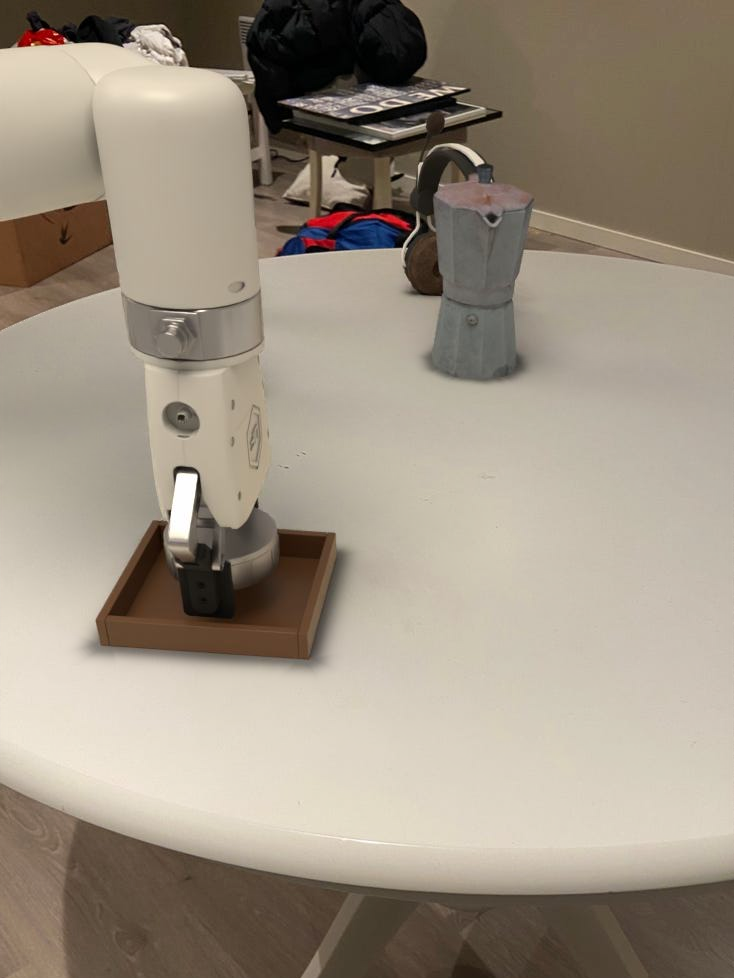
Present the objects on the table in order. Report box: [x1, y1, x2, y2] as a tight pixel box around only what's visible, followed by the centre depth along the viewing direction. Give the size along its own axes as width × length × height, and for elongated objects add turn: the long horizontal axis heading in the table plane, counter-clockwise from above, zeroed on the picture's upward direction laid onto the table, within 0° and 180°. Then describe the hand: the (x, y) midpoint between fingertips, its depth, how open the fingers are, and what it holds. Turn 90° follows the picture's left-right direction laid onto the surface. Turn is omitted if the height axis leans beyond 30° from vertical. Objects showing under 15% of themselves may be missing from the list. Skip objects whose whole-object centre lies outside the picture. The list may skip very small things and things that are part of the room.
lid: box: [163, 507, 280, 590], centre depth 65 cm, size 7×7×2 cm
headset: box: [400, 111, 496, 297], centre depth 112 cm, size 17×8×20 cm, turn 34°
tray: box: [94, 519, 338, 661], centre depth 67 cm, size 13×12×3 cm
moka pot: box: [431, 162, 535, 381], centre depth 98 cm, size 10×15×20 cm, turn 12°
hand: (225, 578), depth 66 cm, fingers closed on lid, 7 cm apart
